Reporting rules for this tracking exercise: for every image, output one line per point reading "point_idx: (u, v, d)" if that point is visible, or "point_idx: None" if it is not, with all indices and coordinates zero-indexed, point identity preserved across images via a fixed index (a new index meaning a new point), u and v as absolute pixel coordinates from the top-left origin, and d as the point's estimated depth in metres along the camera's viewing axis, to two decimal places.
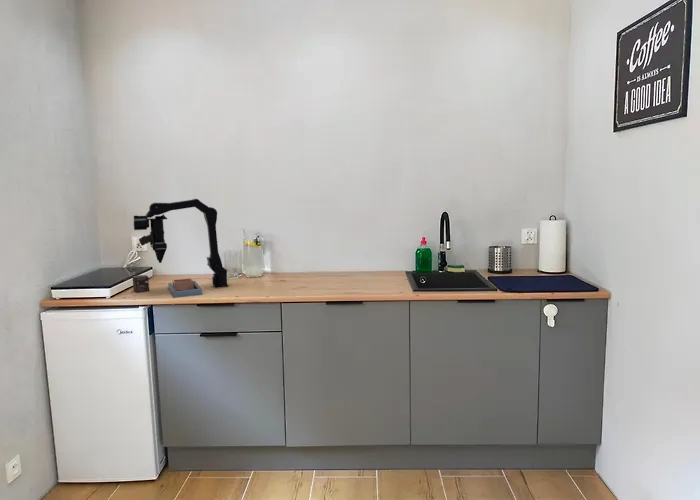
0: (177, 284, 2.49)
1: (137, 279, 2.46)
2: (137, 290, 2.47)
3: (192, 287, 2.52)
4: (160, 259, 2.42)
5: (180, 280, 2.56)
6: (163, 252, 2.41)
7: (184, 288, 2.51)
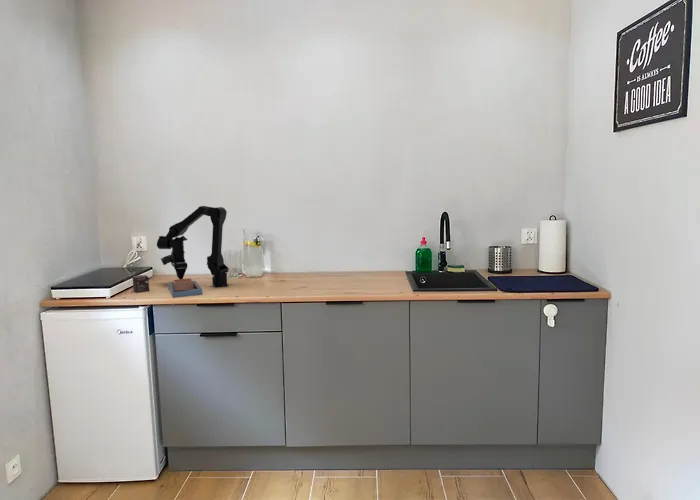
0: (177, 284, 2.49)
1: (137, 279, 2.46)
2: (137, 290, 2.47)
3: (192, 287, 2.52)
4: (181, 277, 2.61)
5: (180, 280, 2.56)
6: (184, 271, 2.60)
7: (184, 288, 2.51)
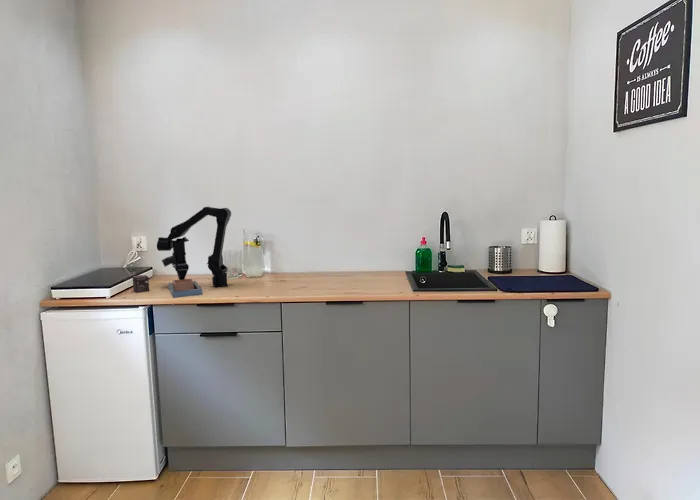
0: (177, 284, 2.48)
1: (137, 279, 2.46)
2: (137, 290, 2.47)
3: (192, 287, 2.51)
4: (182, 279, 2.57)
5: (180, 280, 2.55)
6: (185, 272, 2.56)
7: (184, 289, 2.50)
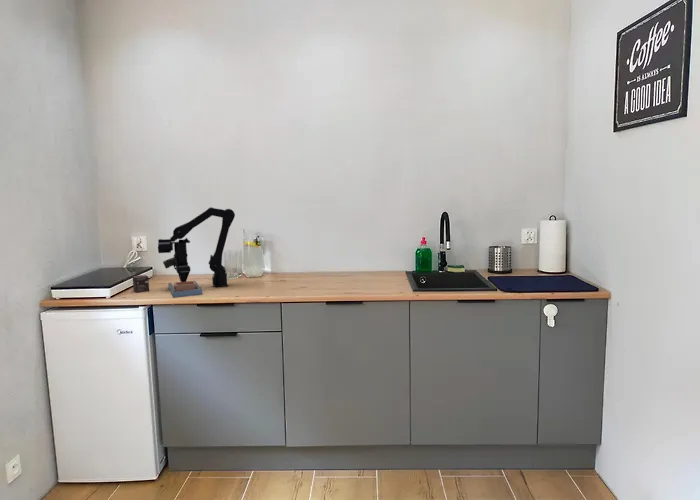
0: (179, 287, 2.42)
1: (137, 279, 2.46)
2: (137, 290, 2.47)
3: None
4: (184, 281, 2.51)
5: (182, 283, 2.50)
6: (186, 275, 2.50)
7: None
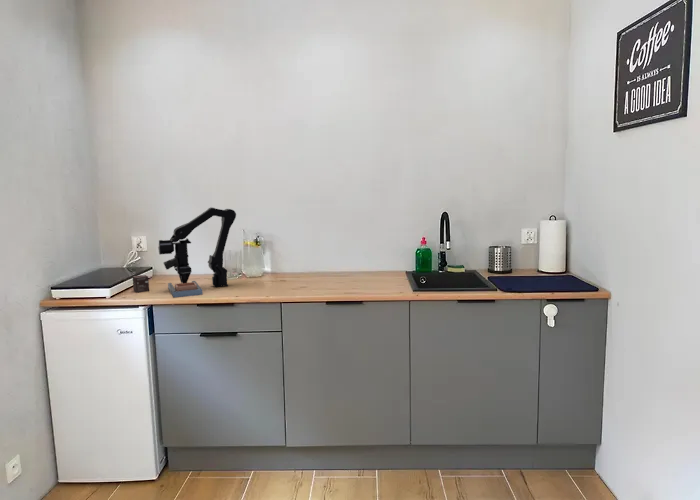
0: (180, 288, 2.39)
1: (137, 279, 2.46)
2: (137, 290, 2.47)
3: None
4: (184, 282, 2.48)
5: (183, 284, 2.47)
6: (187, 276, 2.47)
7: None
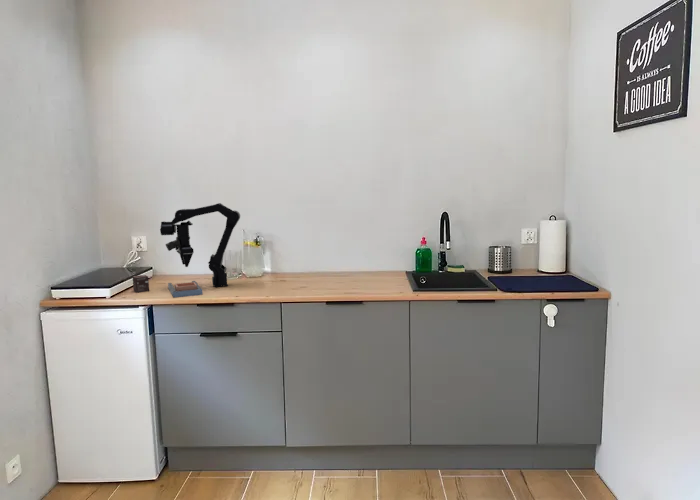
0: (180, 288, 2.39)
1: (137, 279, 2.46)
2: (137, 290, 2.47)
3: None
4: (187, 263, 2.53)
5: (183, 284, 2.47)
6: (189, 257, 2.52)
7: None
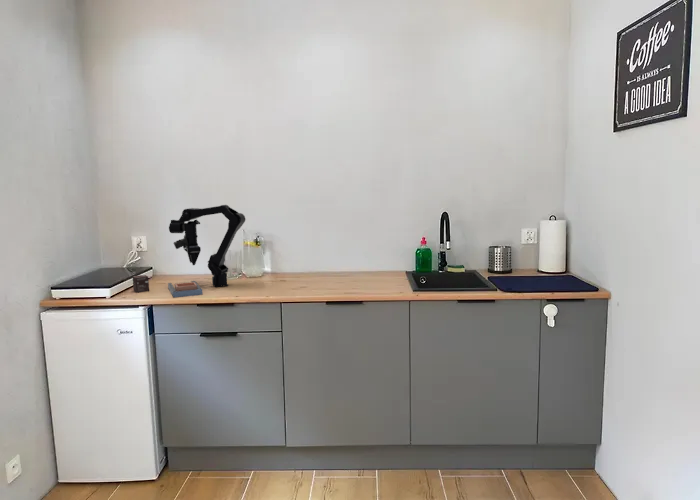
0: (180, 288, 2.39)
1: (137, 279, 2.46)
2: (137, 290, 2.47)
3: None
4: (194, 262, 2.57)
5: (183, 284, 2.47)
6: (197, 255, 2.56)
7: None
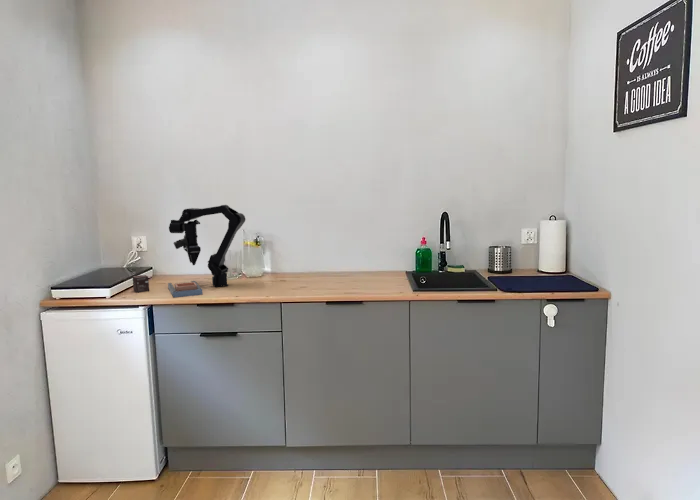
0: (180, 288, 2.39)
1: (137, 279, 2.46)
2: (137, 290, 2.47)
3: None
4: (194, 262, 2.57)
5: (183, 284, 2.47)
6: (197, 255, 2.56)
7: None
